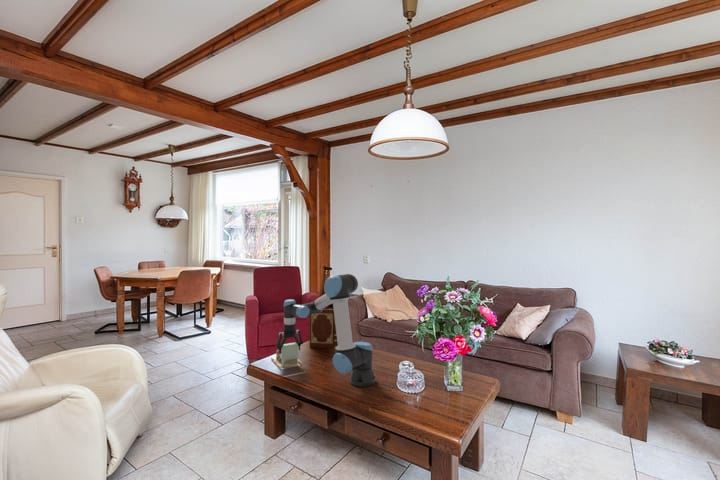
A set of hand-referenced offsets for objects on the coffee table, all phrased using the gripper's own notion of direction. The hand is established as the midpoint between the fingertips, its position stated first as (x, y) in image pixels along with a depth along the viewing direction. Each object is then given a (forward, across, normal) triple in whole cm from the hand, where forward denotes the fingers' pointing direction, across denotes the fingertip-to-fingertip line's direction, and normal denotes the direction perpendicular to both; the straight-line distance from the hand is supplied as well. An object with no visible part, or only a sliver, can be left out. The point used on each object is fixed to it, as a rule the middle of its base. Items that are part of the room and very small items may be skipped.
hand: (289, 356), depth 223 cm
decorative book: (+7, -38, -26) cm, 47 cm away
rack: (+7, 0, -6) cm, 9 cm away
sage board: (+6, 0, 0) cm, 6 cm away
